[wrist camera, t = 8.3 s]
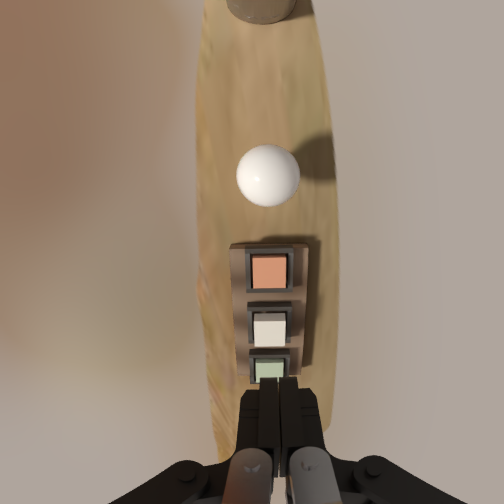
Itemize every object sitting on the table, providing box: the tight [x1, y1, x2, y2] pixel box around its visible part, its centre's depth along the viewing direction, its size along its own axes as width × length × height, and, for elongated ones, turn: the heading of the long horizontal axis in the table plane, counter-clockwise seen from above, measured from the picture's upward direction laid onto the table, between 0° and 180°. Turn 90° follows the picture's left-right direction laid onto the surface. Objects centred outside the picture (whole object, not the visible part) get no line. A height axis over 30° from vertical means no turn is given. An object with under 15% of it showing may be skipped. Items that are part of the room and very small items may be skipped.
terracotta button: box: [253, 253, 286, 288], centre depth 37 cm, size 4×4×2 cm
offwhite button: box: [254, 313, 286, 347], centre depth 39 cm, size 4×4×2 cm
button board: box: [229, 243, 308, 384], centre depth 41 cm, size 22×10×4 cm, turn 2°
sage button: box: [256, 358, 283, 383], centre depth 42 cm, size 4×4×2 cm
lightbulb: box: [236, 144, 300, 207], centre depth 31 cm, size 6×6×11 cm
